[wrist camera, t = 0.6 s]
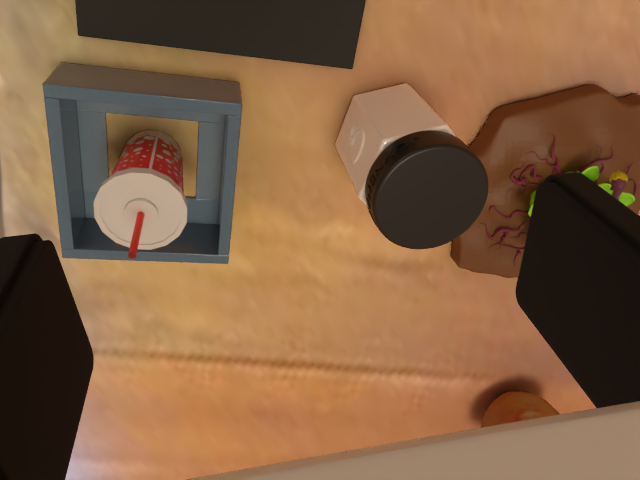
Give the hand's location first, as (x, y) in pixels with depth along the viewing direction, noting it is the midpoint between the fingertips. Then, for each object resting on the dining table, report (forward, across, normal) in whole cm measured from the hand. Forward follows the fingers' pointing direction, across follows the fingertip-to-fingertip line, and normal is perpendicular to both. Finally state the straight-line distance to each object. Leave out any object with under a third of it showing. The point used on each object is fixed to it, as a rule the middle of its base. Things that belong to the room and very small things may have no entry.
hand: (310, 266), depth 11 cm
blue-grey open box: (+34, +8, +11) cm, 37 cm away
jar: (+34, -11, +11) cm, 37 cm away
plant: (+34, -27, +18) cm, 47 cm away
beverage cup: (+34, +8, +11) cm, 37 cm away
